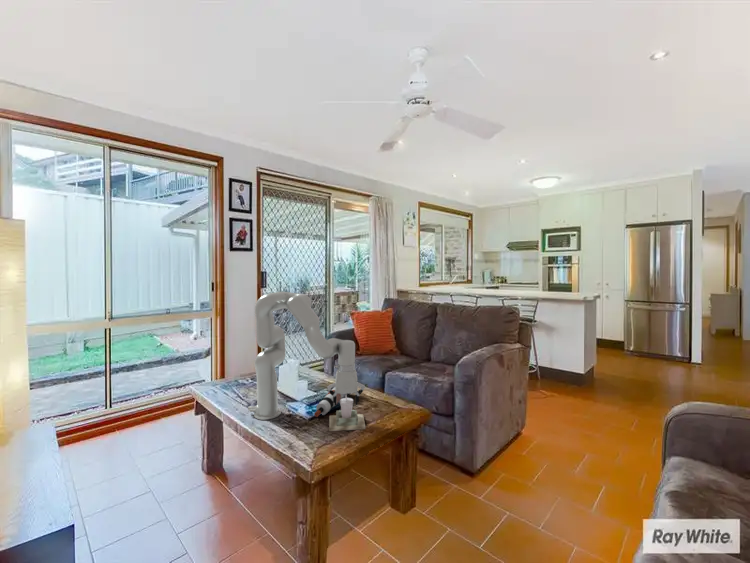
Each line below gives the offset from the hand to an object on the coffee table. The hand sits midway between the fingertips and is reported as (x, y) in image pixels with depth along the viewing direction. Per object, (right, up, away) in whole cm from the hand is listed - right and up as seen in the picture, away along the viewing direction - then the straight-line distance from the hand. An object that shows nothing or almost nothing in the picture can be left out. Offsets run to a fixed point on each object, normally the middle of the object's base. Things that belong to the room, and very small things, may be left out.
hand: (345, 404), depth 164 cm
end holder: (0, -9, 0) cm, 9 cm away
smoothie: (0, -8, 0) cm, 8 cm away
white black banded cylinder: (-8, -8, +20) cm, 23 cm away
